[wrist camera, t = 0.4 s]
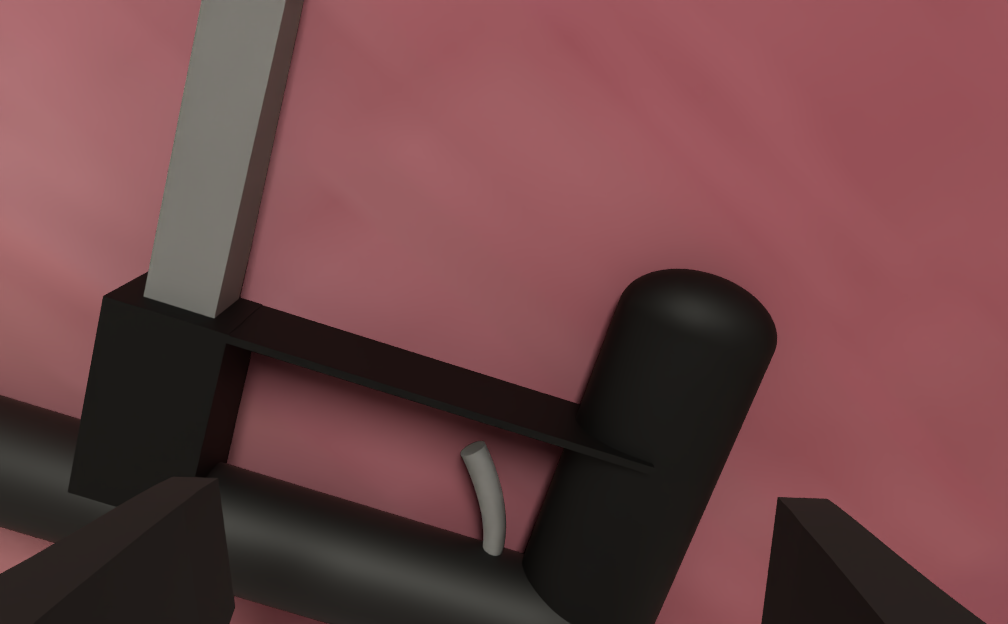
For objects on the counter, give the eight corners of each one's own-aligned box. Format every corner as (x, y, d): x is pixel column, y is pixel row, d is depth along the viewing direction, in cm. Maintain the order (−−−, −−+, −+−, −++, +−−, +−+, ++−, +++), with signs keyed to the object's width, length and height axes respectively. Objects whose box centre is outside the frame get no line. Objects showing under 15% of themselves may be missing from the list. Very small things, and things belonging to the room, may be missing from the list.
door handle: (-109, -177, 16) (-172, 544, 20) (897, 159, 17) (617, 774, 21) (1, -138, 19) (-75, 478, 23) (840, 142, 20) (607, 680, 24)
